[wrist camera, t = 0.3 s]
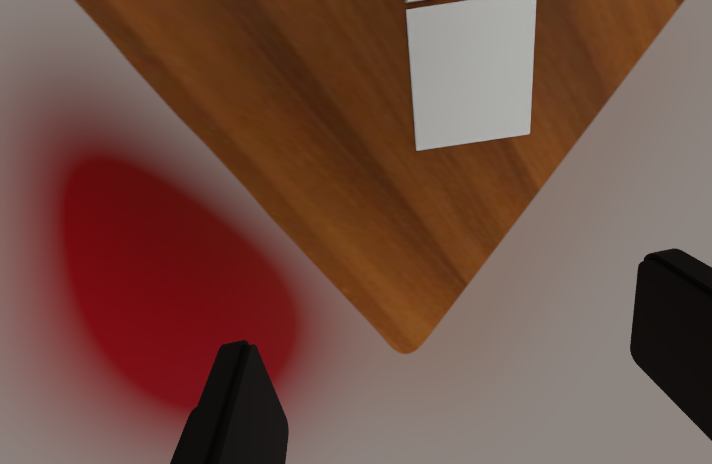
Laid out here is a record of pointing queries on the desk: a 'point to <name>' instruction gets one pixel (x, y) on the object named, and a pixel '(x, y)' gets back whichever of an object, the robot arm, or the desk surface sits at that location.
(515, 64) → the mat
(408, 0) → the strip
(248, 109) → the desk surface
